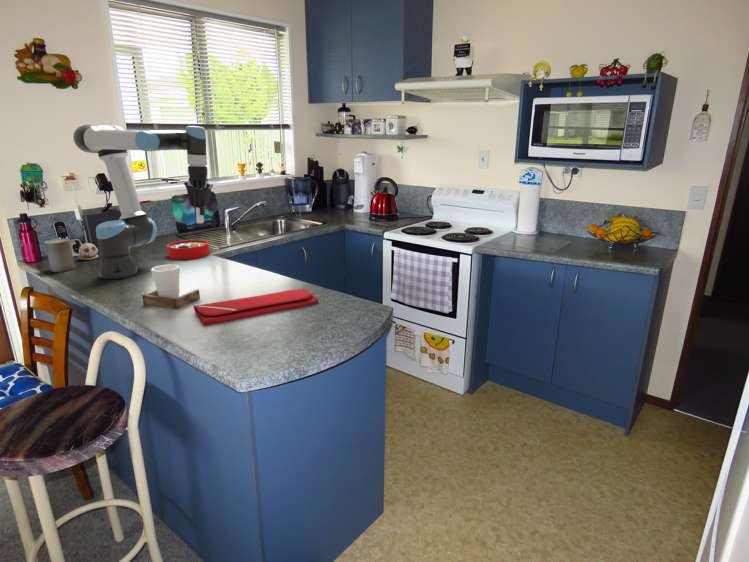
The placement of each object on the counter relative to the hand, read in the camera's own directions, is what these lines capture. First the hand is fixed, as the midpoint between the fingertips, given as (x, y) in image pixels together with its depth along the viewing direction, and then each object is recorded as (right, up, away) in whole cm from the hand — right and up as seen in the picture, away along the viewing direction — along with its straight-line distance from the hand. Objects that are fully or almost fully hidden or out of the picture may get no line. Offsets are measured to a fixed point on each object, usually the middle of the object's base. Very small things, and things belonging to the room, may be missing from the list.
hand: (200, 222), depth 203 cm
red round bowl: (-22, -11, +46) cm, 52 cm away
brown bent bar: (-1, -32, -24) cm, 40 cm away
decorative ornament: (-70, -14, +39) cm, 81 cm away
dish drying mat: (+32, -35, -31) cm, 57 cm away
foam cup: (-2, -32, -24) cm, 41 cm away
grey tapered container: (-71, -19, +20) cm, 76 cm away
